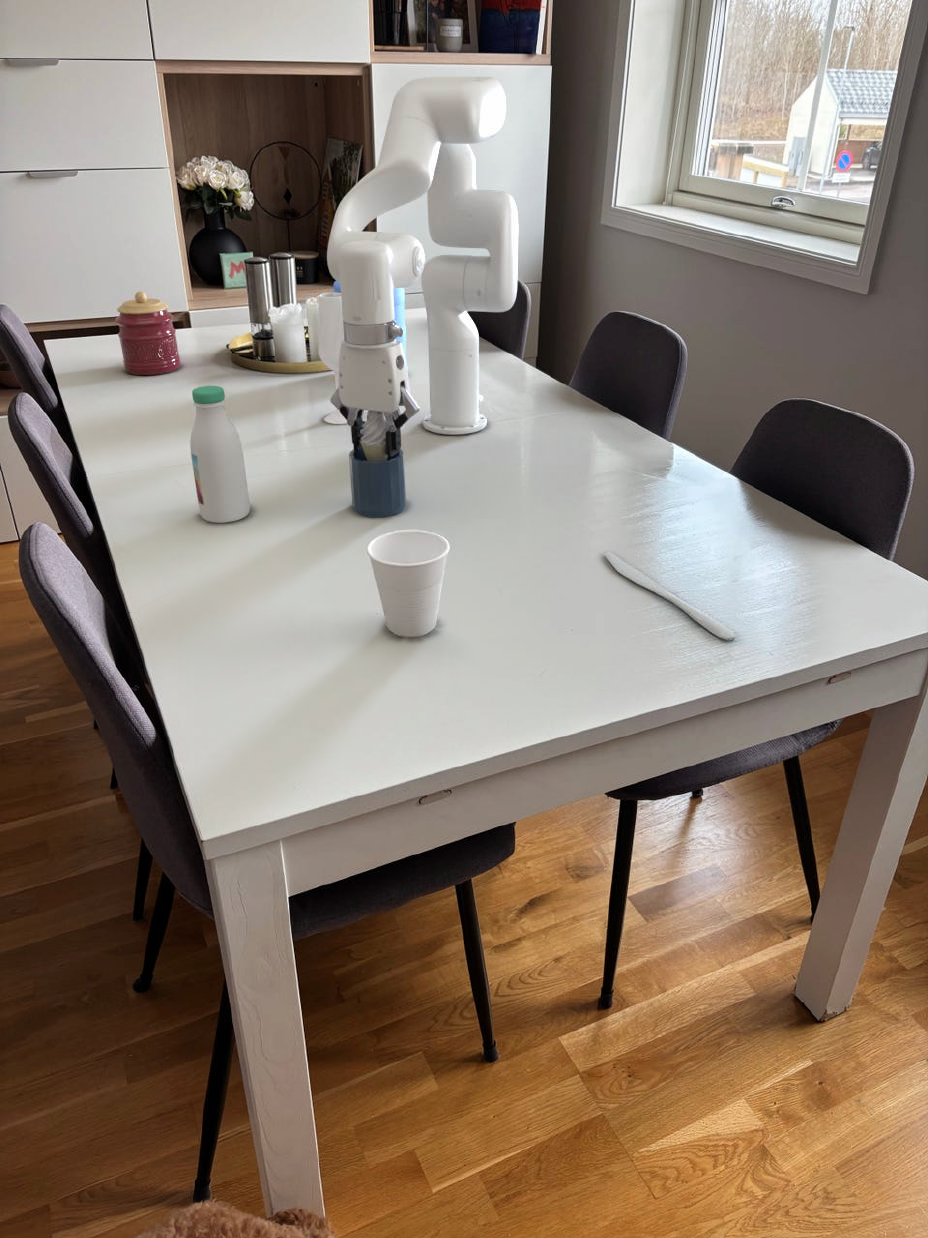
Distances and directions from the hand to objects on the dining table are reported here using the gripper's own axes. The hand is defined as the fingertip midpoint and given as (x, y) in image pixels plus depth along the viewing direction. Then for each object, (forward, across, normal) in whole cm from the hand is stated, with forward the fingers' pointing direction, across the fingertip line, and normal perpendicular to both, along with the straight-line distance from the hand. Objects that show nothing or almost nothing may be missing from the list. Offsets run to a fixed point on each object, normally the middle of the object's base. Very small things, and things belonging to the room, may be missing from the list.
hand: (376, 450), depth 148 cm
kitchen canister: (+10, +90, -53) cm, 105 cm away
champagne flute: (+10, +29, -37) cm, 48 cm away
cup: (+9, -22, +32) cm, 40 cm away
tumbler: (+9, 0, 0) cm, 9 cm away
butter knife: (+9, -49, +12) cm, 51 cm away
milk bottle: (+10, +21, +12) cm, 26 cm away
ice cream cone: (+7, 0, 0) cm, 7 cm away
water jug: (+10, +38, -67) cm, 77 cm away
